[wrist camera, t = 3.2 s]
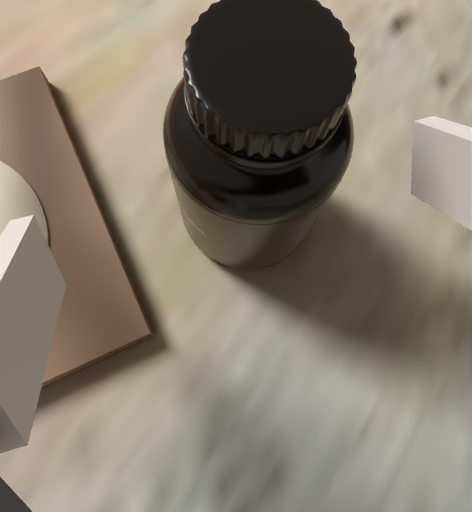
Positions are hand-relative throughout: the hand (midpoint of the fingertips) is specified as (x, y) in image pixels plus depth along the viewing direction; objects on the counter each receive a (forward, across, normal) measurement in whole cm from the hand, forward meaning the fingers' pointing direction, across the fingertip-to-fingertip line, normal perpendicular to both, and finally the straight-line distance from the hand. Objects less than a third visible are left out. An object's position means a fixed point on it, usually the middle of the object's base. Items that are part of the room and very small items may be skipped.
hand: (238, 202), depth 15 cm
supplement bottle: (+8, +1, -4) cm, 9 cm away
